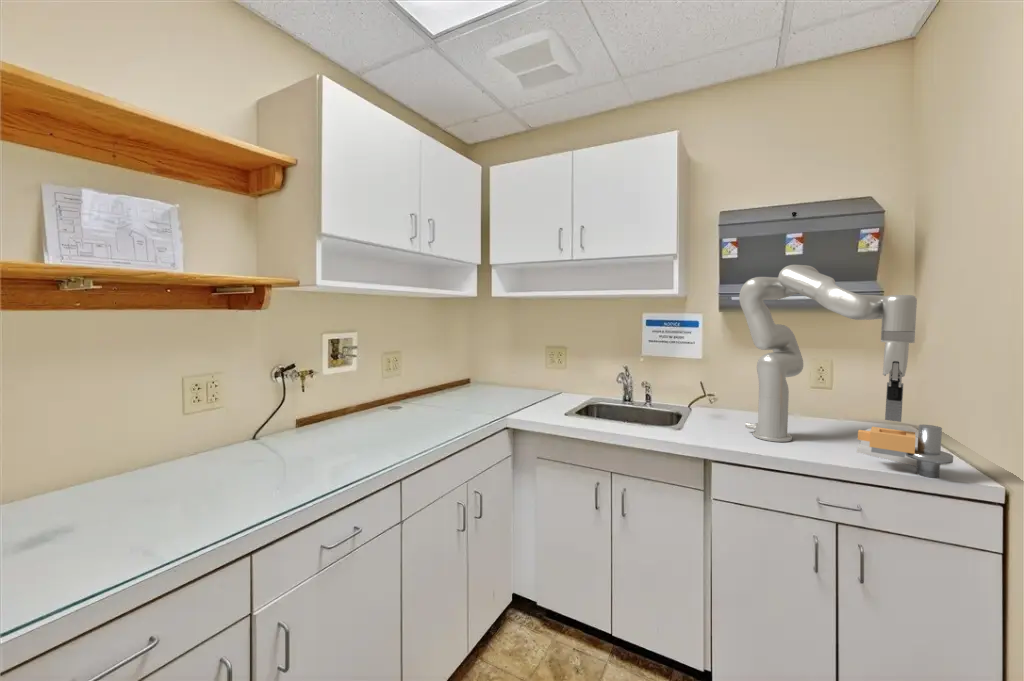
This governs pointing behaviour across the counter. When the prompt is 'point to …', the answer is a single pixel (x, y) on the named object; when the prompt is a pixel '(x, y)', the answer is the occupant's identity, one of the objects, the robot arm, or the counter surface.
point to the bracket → (889, 439)
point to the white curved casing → (866, 449)
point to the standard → (925, 452)
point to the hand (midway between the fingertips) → (894, 399)
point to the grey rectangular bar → (893, 408)
